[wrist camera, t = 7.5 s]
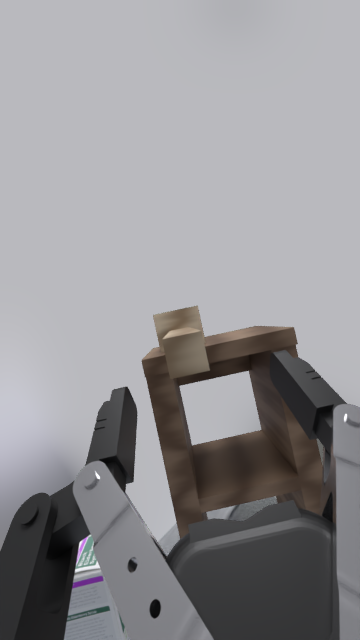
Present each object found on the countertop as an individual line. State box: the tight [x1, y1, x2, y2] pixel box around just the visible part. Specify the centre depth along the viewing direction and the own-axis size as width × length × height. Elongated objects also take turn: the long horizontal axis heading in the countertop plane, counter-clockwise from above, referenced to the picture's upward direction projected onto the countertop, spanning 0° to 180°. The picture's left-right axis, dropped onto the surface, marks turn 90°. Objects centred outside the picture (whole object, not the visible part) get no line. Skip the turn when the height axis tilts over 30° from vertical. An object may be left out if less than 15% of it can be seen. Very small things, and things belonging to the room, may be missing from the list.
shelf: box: [142, 326, 323, 539], centre depth 31 cm, size 18×12×32 cm, turn 91°
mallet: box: [153, 306, 210, 379], centre depth 23 cm, size 6×20×5 cm, turn 1°
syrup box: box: [64, 535, 130, 640], centre depth 23 cm, size 6×6×14 cm
